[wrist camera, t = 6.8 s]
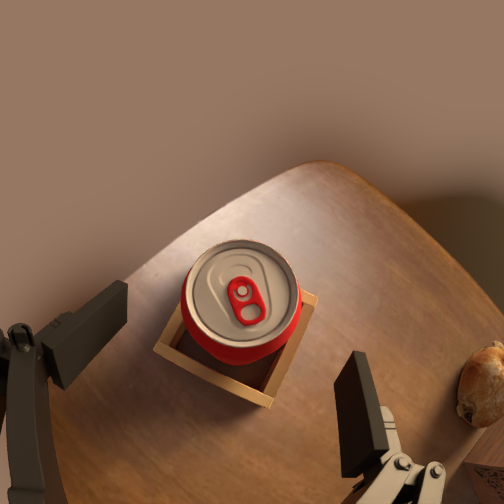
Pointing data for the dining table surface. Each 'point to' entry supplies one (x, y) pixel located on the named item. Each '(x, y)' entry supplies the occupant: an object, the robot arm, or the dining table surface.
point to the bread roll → (482, 387)
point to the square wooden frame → (261, 397)
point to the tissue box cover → (488, 465)
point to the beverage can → (241, 301)
